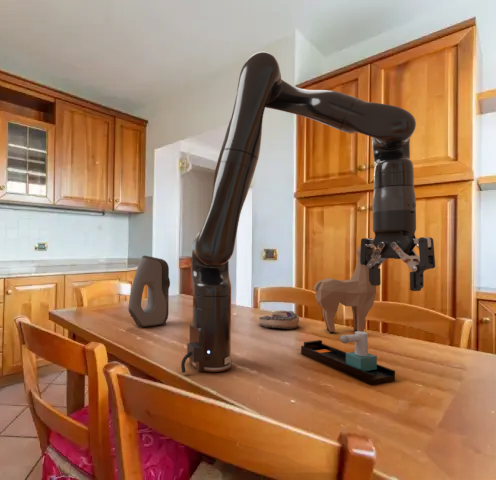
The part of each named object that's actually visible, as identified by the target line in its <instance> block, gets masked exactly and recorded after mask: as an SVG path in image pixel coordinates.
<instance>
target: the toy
mask: <svg viewBox="0 0 496 480" xmlns="http://www.w3.org/2000/svg"><path fill="white" fill-rule="evenodd" d="M375 250H376V247H375V246H374V247H373V253H374V252H375ZM360 251H361V245H359V246H358V247H357V249H356V251H355V252H356V256H357V260H356V266H355V269H354V271H353V274H352V275H351V278H349V279H344V280H340V279H335V278H331V277H327V278H323V279H320V280H318V281H316V283H315V284H314V286H313V289H312V290H314V291H315V292H314V297H315V300H316V302H317V304H318V306H320V307H321V310H322V316H323V320H324V324H325V328H326V331H328V332H329V334H333V335H335V334H336V326H335V316H336V314H337V312H338V309H339V305H340V304H341V305H343V306H344V307H351V311H352V327H353V328H352V329H353V332H354V333H355V331H362V332H365V325H366V317H367V316H368V314H369V312H370V311H371V309H372V308H373V306H374V303H375V300H376V299H375V298H376V294H377V286H373V285H371V283H370V282H369V268H368V267H367V266H365V265H362V264H360ZM366 257H367V256H366Z"/></svg>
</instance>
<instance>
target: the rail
mask: <svg viewBox="0 0 496 480" xmlns="http://www.w3.org/2000/svg"><path fill="white" fill-rule="evenodd" d="M346 353H347V352H346V351H343V350H341V349H338V348H336V347H333V346H330V345H329V344H328V345H327V344H325V343H323V340H321V339H318V340H308V341H303V345H301V346H300V354H301V355H303V356H305V357H307V358H309V359H312V360H313V361H316V362H317V363H320V364H322V365H325V366H326V367H329V368H332V369H334V370H336V371H339V372H340V373H343V374H345V375H347V376H349V377H352V378H354V379H356V380H359V381H360V382H363V383H365V384H367V385H369V386H376V385H381V384H386V383H391V382H396V370H395V369H391V368H389V367H386V366H384V365H381V364H378V363H377V369H376V370H370V371H363V370H361V369H359V368H356V367H354V366H351V365H349V364H346Z"/></svg>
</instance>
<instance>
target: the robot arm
mask: <svg viewBox="0 0 496 480" xmlns="http://www.w3.org/2000/svg"><path fill="white" fill-rule="evenodd" d="M281 74H282V73H281V68H280V64H279V63H278V60H277V59H276V57H275V56H274V55H273V54H272V53H270V52H267V51H258V52H256V53H254V54H252V55H251V56H250V57H248V59H246V61H245V62H244V63H243V65H242V67H241V69H240V71H239V77H238V82H237V88H236V93H235V99H234V104H233V107H232V108H233V109H232V112H231V115H230V119H229V122H228V125H227V128H226V132H225V135H224V139H223V142H222V145H221V148H220V150H219V154H218V158H217V160H216V161H217V162H216V165H215V168H214V169H215V170H214V174H213V182H212V183H213V184H212V191H211V199H210V205H209V208H208V212H207V214H206V217H205V220H204V222H203V225H202V227H201V229H200V231H199V232H198V233H197V234H196V235H195V237H194V238H193V241H192V245H191V280H192V281H191V282H192V323H190V324H189V342H187V343H186V346H187V349H186V350H187V351H186V354H185V355H184V356H183V357H182V360H181V362H180V367H181V373H186V366H185V365H186V361H187V360H188V359H189V360H188V361H189V365H191V366H192V367H193V368H194V369H195V370H197V372H199V373H200V372H206V373H207V372H208V373H220V372H225V371H228V370H230V369H231V368H232V283H231V279H230V265H229V263H230V262H229V260H230V259H231V258H232V256H233V254H234V251H235V246H236V241H237V240H236V239H237V234H238V227H239V223H240V217H241V213H242V210H243V207H244V204H245V201H246V199H247V196H248V194H249V191H250V187H251V184H252V181H253V178H254V175H255V172H256V168H257V166H258V165H257V164H258V161H259V158H260V152H261V144H262V134H263V119H264V114H265V109H271V110H277V111H281V112H285V113H289V114H292V115H297V116H300V117H304V118H306V119H310V120H313V121H316V122H318V123H321V124H323V125H326V126H327V127H331V128H333V129H335V130H338V131H340V132H343V133H346V134H356V133H358V134H362V135H364V136H368V137H370V138H371V145H372V147H371V148H372V157H373V165H374V167H373V169H374V170H373V195H372V232H373V233H374V237H373V238H371V237H363V238H361V239H360V246H361V251H360V264H362V265H365V266H367V267H368V268H369V282H370V283H371V285H373V286H376V287H377V286H378V287H379V286H381V283H382V282H381V279H382V278H381V277H382V276H381V268H380V267H381V266H382V264H383V263H384V262H385V261H387V259H394V260H401V261H402V262H403V263H405V264H406V265H407V267H408V268H409V270H411V271H409V290H410V291H411V292H420V291H421V290H422V289H423V288H424V284H425V283H424V281H425V280H424V273H425V271H427V270H430V269H432V270H433V269H435V268H436V257H435V256H436V255H435V244H434V242H435V241H434V238H433V237H429V236H424V237H419V238H417V237H416V231H417V202H416V201H417V199H416V197H417V196H416V193H415V192H416V191H415V171H414V164H413V161H412V160H411V138H412V136H413V134H414V133H415V131H416V126H417V122H416V118H415V116H414V115H413V114H412V113H411V112H410V111H409V110H407V109H405V108H403V107H400V106H396V105H392V104H386V103H379V102H372V101H366V100H363V99H361V98H358V97H356V96H353V95H349V94H347V93H343V92H340V91H337V90H332V89H307V88H302V87H301V88H300V87H297V86H295V85H292V84H291V83H289V82H287V81H285V80H283V79H282V75H281ZM373 247H375V249H376V250H375V252H374V253H373ZM415 247H416V248H417V249H418V253H417V252H416V251H415V249H414V248H415ZM418 254H419V255H418ZM366 256H367V257H366Z"/></svg>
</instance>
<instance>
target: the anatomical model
mask: <svg viewBox="0 0 496 480" xmlns="http://www.w3.org/2000/svg"><path fill="white" fill-rule="evenodd" d="M258 319H259V320H258V325H259V326H262V327H264V328H269V329H271V328H273V329H280V330H293V329H296V328H298V327H299V322H300V318H299V315H298V314H296V313H295V311H294V310H275V311H273V312H272V313H271V316H270V315H263V316H259V318H258Z"/></svg>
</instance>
